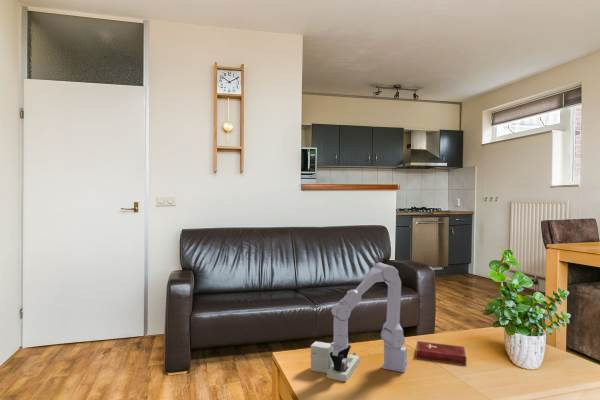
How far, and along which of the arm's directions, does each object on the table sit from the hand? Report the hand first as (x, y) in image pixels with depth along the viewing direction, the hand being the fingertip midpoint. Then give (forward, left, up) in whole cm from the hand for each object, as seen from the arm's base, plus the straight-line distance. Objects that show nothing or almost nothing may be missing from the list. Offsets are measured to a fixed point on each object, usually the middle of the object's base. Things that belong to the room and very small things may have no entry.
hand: (340, 367), depth 155 cm
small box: (+8, -1, -3) cm, 9 cm away
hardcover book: (-36, -36, -4) cm, 51 cm away
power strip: (0, -8, -3) cm, 9 cm away
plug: (0, 0, -3) cm, 3 cm away
